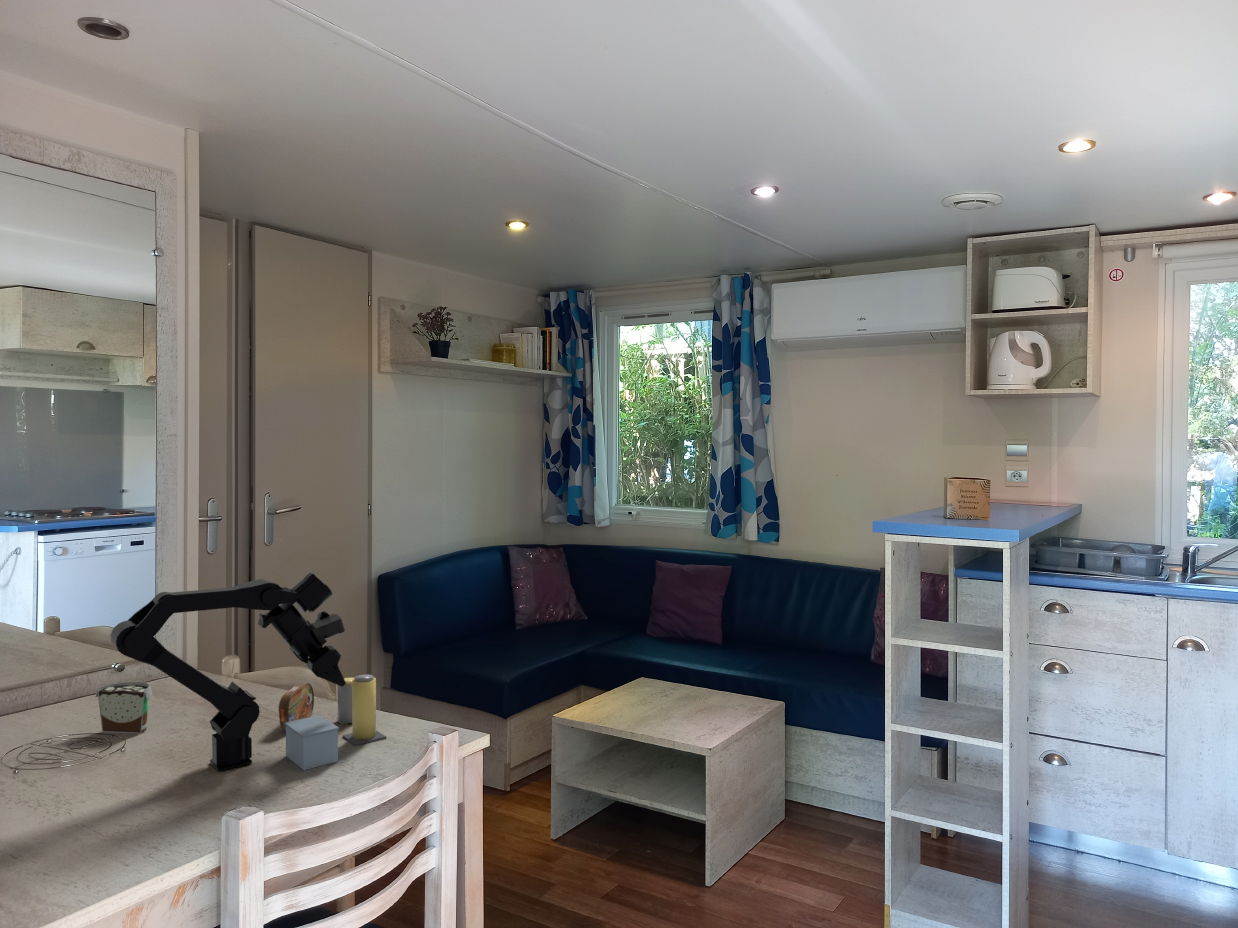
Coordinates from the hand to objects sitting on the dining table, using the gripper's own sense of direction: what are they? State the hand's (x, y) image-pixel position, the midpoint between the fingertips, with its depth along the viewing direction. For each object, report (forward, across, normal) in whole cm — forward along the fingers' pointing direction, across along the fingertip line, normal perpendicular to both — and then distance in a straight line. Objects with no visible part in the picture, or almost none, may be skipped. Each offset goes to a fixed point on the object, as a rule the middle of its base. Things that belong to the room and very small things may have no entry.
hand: (337, 678), depth 187 cm
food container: (-10, +34, +38) cm, 52 cm away
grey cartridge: (+15, +11, +4) cm, 18 cm away
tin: (+9, +16, +12) cm, 22 cm away
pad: (+14, -3, +4) cm, 14 cm away
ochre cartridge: (+13, -3, +4) cm, 14 cm away
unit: (+6, -9, +14) cm, 18 cm away
